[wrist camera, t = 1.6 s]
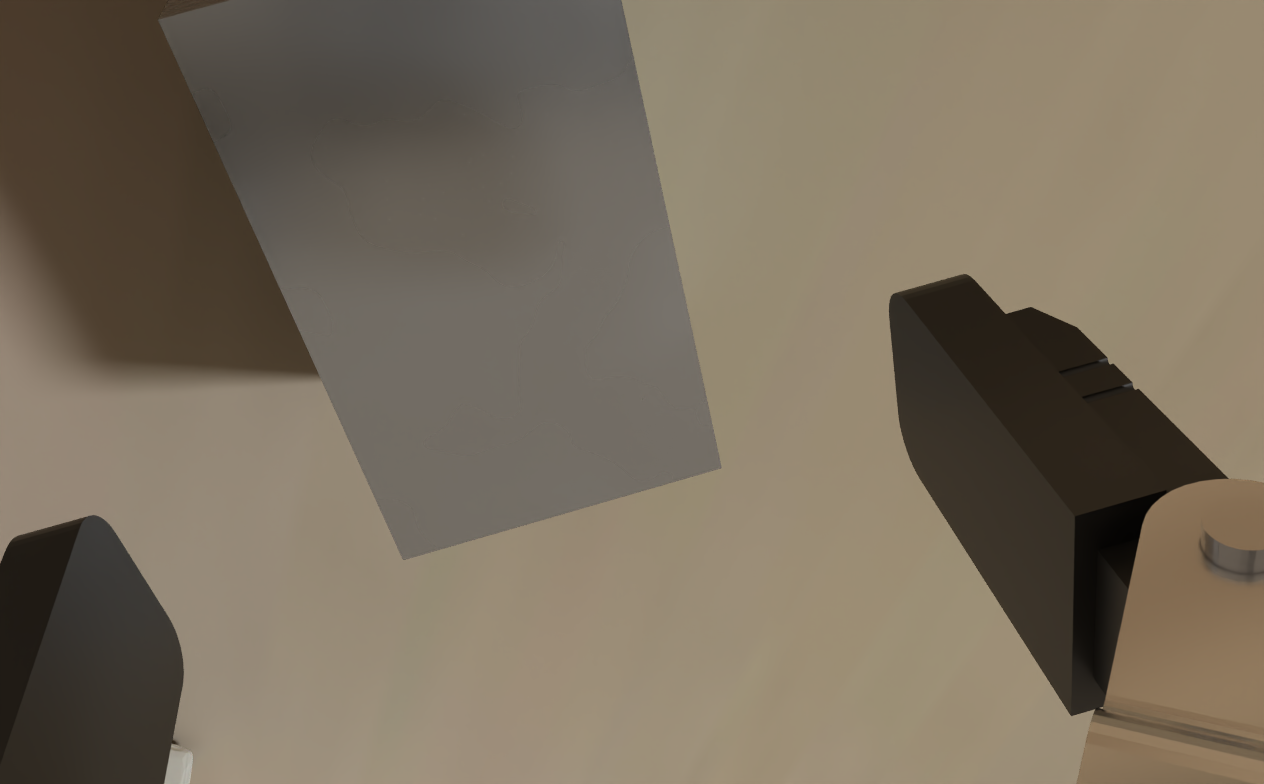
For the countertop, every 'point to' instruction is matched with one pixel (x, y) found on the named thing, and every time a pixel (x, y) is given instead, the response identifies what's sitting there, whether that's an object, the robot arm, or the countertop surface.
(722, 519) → the countertop surface
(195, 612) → the countertop surface
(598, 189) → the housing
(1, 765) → the robot arm
